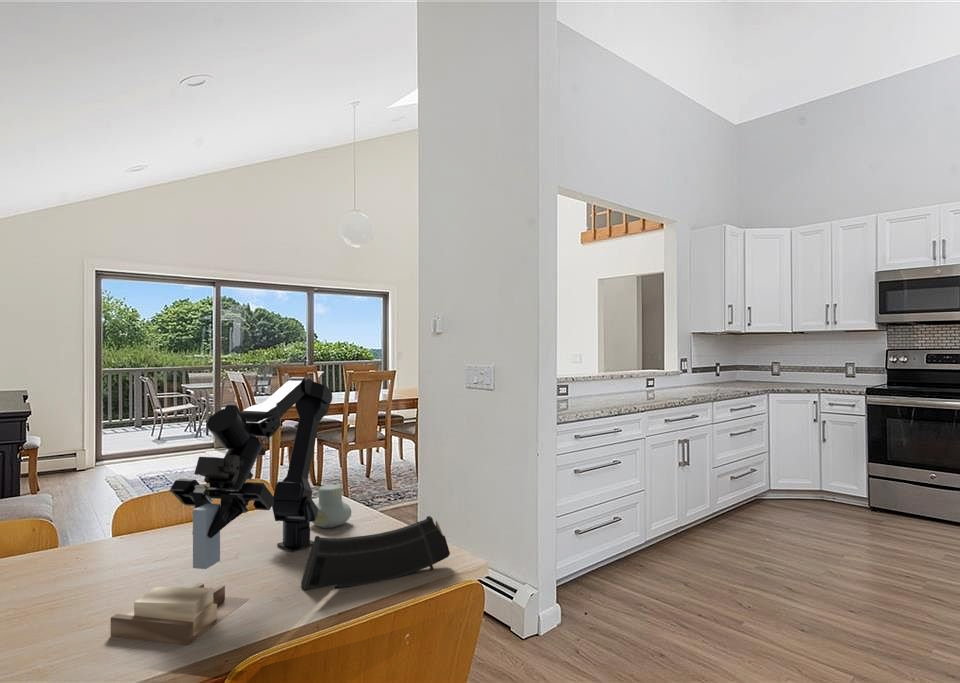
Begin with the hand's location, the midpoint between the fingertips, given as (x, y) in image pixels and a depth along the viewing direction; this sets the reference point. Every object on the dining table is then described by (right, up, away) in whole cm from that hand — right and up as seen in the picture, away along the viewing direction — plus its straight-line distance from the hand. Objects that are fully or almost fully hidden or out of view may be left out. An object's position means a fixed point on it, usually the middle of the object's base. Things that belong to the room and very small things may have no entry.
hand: (201, 536), depth 103 cm
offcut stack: (-1, -12, -7) cm, 14 cm away
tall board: (0, -6, +1) cm, 6 cm away
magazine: (+29, -14, +14) cm, 35 cm away
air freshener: (+10, -14, +49) cm, 52 cm away
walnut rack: (-1, -13, -4) cm, 14 cm away
